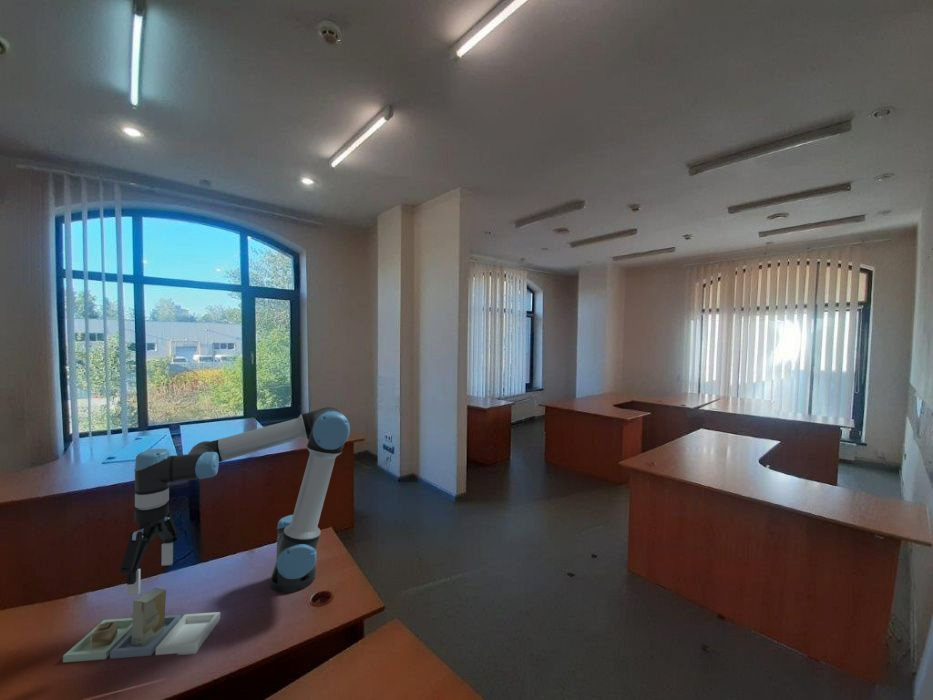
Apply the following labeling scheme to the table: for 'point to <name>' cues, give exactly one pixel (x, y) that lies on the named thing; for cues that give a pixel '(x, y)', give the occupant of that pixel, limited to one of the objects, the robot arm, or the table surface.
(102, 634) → the letter cube
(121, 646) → the tray
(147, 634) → the skincare box
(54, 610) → the table surface
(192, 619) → the tray
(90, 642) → the tray
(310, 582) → the robot arm
